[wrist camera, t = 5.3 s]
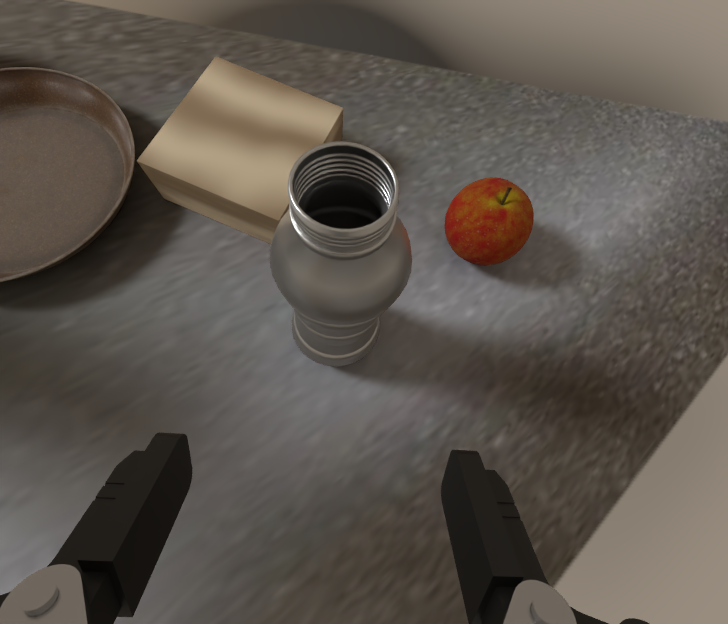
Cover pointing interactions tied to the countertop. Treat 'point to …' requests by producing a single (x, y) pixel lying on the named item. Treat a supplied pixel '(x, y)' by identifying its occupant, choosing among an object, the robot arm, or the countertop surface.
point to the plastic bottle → (340, 250)
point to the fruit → (489, 221)
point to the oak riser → (238, 147)
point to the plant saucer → (57, 167)
